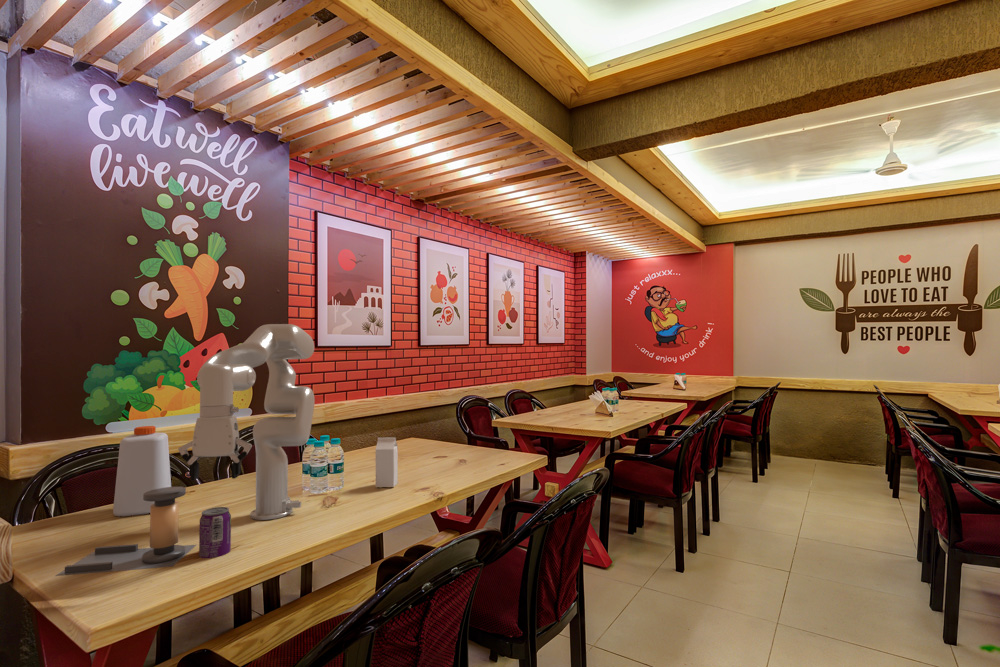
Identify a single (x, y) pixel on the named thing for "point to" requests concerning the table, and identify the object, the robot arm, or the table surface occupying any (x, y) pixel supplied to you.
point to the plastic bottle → (141, 470)
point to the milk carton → (386, 462)
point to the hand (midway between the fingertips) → (215, 478)
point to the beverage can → (215, 532)
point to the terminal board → (116, 560)
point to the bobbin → (164, 525)
